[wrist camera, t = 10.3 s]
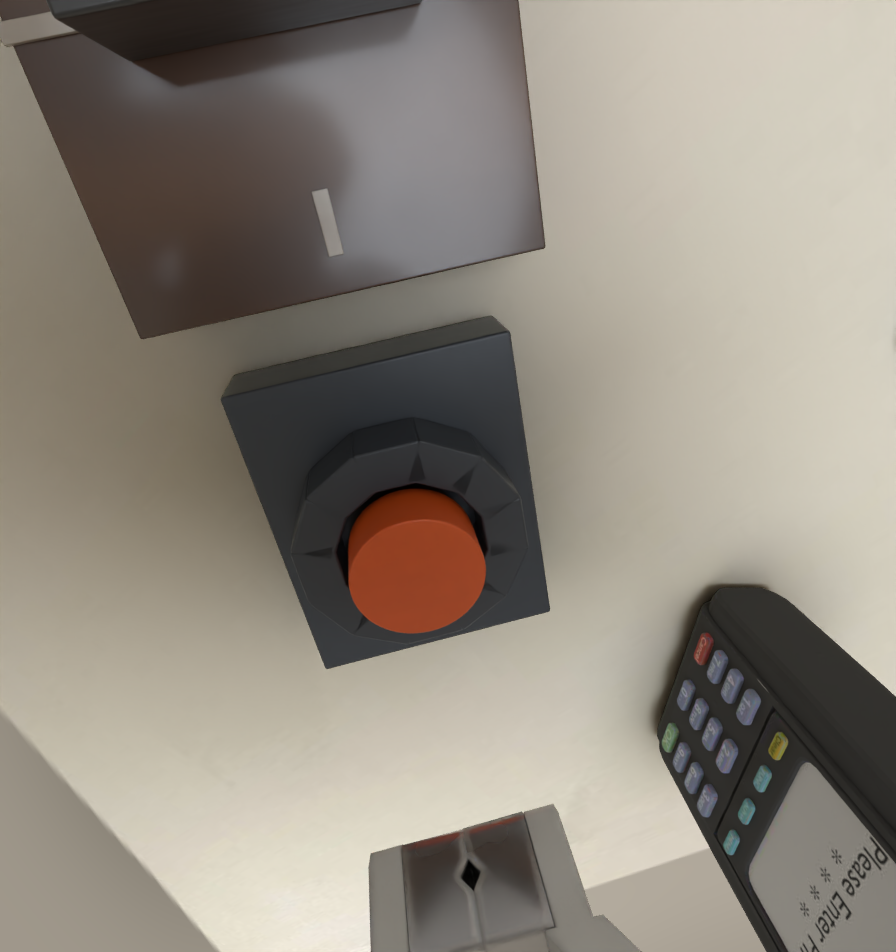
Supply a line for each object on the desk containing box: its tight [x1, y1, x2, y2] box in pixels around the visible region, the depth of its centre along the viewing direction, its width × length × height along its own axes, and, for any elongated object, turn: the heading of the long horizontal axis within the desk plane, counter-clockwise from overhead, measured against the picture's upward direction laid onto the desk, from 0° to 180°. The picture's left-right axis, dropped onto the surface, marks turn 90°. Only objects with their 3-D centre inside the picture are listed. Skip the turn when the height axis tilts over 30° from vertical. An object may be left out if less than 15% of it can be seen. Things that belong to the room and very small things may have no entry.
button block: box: [221, 316, 550, 669], centre depth 19 cm, size 10×8×4 cm
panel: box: [0, 0, 545, 339], centre depth 13 cm, size 12×10×3 cm
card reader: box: [657, 588, 896, 952], centre depth 20 cm, size 9×4×15 cm, turn 173°
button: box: [348, 488, 486, 633], centre depth 16 cm, size 4×4×2 cm
